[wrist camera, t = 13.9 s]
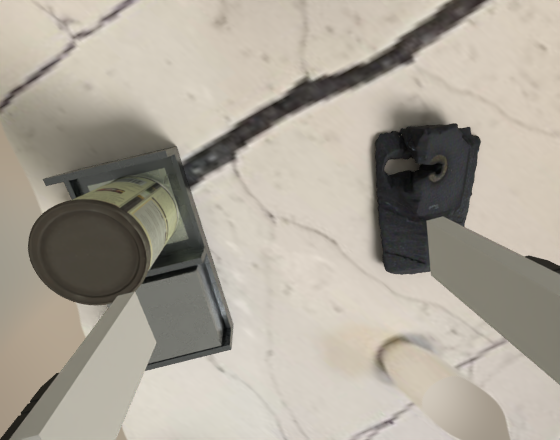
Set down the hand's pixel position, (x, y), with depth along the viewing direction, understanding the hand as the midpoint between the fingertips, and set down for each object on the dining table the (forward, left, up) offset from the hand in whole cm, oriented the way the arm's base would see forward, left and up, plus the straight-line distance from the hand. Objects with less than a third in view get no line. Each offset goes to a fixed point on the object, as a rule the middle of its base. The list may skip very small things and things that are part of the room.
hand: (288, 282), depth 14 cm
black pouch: (+9, +22, -31) cm, 39 cm away
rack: (+8, -17, -31) cm, 36 cm away
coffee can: (+1, -17, -30) cm, 34 cm away
